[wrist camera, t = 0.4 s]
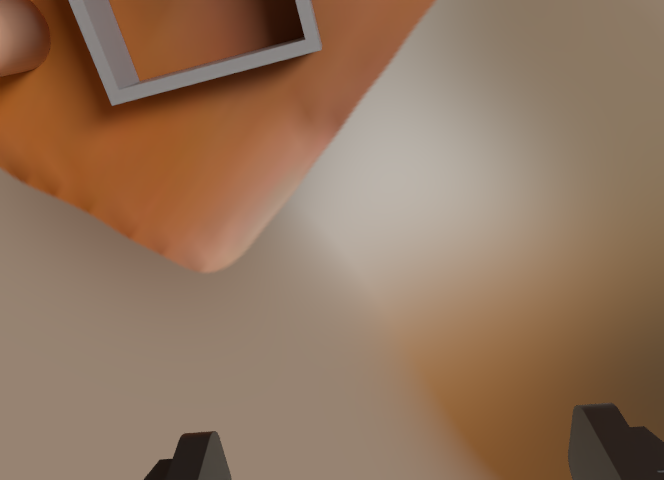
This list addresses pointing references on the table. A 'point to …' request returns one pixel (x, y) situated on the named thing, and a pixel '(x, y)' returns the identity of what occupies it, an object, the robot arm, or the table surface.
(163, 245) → the table surface
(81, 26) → the caddy
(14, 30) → the peach bulb knob
